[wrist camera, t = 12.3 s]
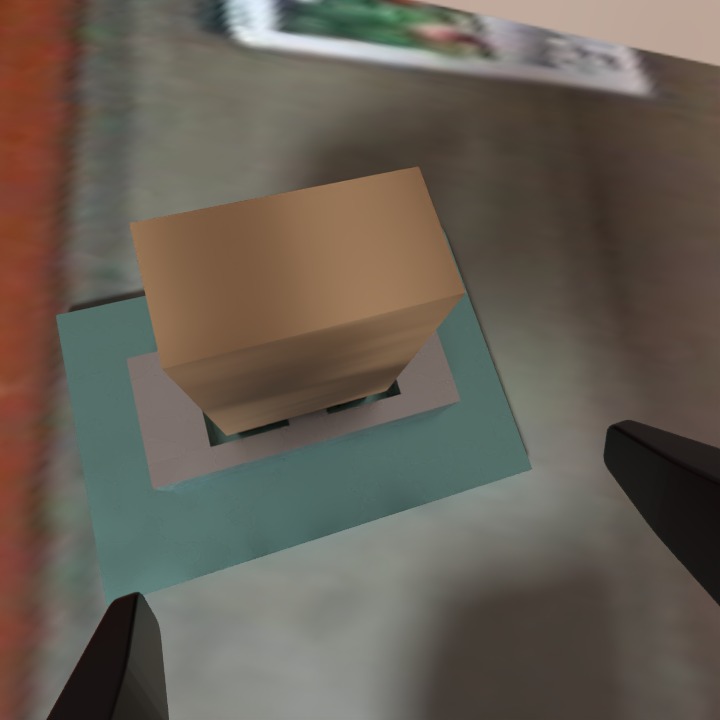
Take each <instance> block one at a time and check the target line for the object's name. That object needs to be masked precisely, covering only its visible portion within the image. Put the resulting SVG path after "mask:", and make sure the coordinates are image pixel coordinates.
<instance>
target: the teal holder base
mask: <svg viewBox="0 0 720 720" xmlns="http://www.w3.org/2000/svg"><path fill="white" fill-rule="evenodd" d="M443 233H444V236H445V238H446V241H447V244H448V246H449V249H450V252H451V254H452V257H453V260H454V262H455V265H456V268H457V271H458V273H459V276H460V279H461V281H462V284H463V287H464V289H465V292H466V293H465V294H464V296H463V297H462V298H461V299H460V300H459V302H458V303H457V304H456V305H455V307H454V308H453V309H452V310H451V312H450V313H449V314H448V315H447V317H446V318H445V319H444V320H443V322H442V323H441V324H440V325H439V326H438V328H437V329H436V330H435V331H434V333H433V334H432V335H431V336H430V338H429V339H428V340H427V341H426V343H425V344H424V345H423V346H422V347H421V349H420V350H419V351H418V352H417V354H416V355H415V356H414V357H413V359H412V360H411V361H410V362H409V364H408V365H407V366H406V367H405V369H404V370H403V371H402V372H401V373H400V375H399V376H398V377H397V378H396V380H395V381H394V382H393V383H392V385H391V386H390V387H389V388H388V390H387V391H384V392H381V393H377V394H374V395H370V396H367V397H366V398H363V399H360V400H356V401H353V402H349V403H346V404H342V405H340V404H338V405H334V406H331V407H327V408H324V409H320V410H317V411H313V412H310V413H306V414H302V415H299V416H295V417H292V418H288V419H285V420H281V421H277V422H274V423H270V424H267V425H266V426H264V427H260V428H257V429H253V430H250V431H246V432H242V433H239V434H237V433H235V434H231V435H228V436H226V435H225V434H224V432H223V431H222V430H221V429H220V428H219V427H218V426H217V425H216V424H215V423H214V422H213V421H212V420H211V419H210V418H209V417H208V416H207V415H206V414H205V413H204V412H203V411H202V410H201V409H200V408H199V407H198V406H197V405H196V404H195V403H194V401H193V400H192V399H191V398H190V397H189V396H188V395H187V394H186V393H185V392H184V391H183V390H182V389H181V388H180V387H179V386H178V385H177V384H176V383H175V382H174V381H173V380H172V379H171V378H170V377H169V376H168V375H167V374H166V373H165V372H164V370H163V369H162V367H161V362H160V358H159V353H158V349H157V344H156V340H155V335H154V331H153V326H152V322H151V317H150V313H149V308H148V304H147V300H146V296H142V297H137V298H133V299H128V300H124V301H119V302H114V303H110V304H105V305H101V306H96V307H92V308H87V309H83V310H78V311H73V312H69V313H64V314H60V315H56V318H57V324H58V329H59V335H60V341H61V347H62V352H63V358H64V364H65V370H66V375H67V381H68V387H69V393H70V398H71V404H72V410H73V415H74V421H75V427H76V433H77V438H78V444H79V450H80V456H81V461H82V467H83V473H84V479H85V484H86V490H87V496H88V501H89V507H90V513H91V519H92V524H93V530H94V536H95V542H96V547H97V553H98V559H99V565H100V570H101V576H102V582H103V587H104V593H105V599H106V605H107V606H110V604H111V603H112V602H113V601H114V600H115V599H117V598H119V597H122V596H125V595H128V594H130V593H133V592H140V593H141V594H142V595H144V594H147V593H150V592H154V591H157V590H160V589H163V588H166V587H169V586H172V585H175V584H178V583H181V582H184V581H188V580H191V579H194V578H197V577H200V576H203V575H206V574H209V573H212V572H215V571H218V570H222V569H225V568H228V567H231V566H234V565H237V564H240V563H243V562H246V561H249V560H253V559H256V558H259V557H262V556H265V555H268V554H271V553H274V552H277V551H280V550H283V549H287V548H290V547H293V546H296V545H299V544H302V543H305V542H308V541H311V540H314V539H317V538H321V537H324V536H327V535H330V534H333V533H336V532H339V531H342V530H345V529H348V528H352V527H355V526H358V525H361V524H364V523H367V522H370V521H373V520H376V519H379V518H382V517H386V516H389V515H392V514H395V513H398V512H401V511H404V510H407V509H410V508H413V507H416V506H420V505H423V504H426V503H429V502H432V501H435V500H438V499H441V498H444V497H447V496H451V495H454V494H457V493H460V492H463V491H466V490H469V489H472V488H475V487H478V486H481V485H485V484H488V483H491V482H494V481H497V480H500V479H503V478H506V477H509V476H512V475H515V474H519V473H522V472H525V471H528V470H531V469H532V467H531V465H530V462H529V459H528V457H527V454H526V451H525V448H524V446H523V443H522V440H521V438H520V435H519V432H518V429H517V427H516V424H515V421H514V419H513V416H512V413H511V410H510V408H509V405H508V402H507V400H506V397H505V394H504V391H503V389H502V386H501V383H500V380H499V378H498V375H497V372H496V370H495V367H494V364H493V361H492V359H491V356H490V353H489V351H488V348H487V345H486V342H485V340H484V337H483V334H482V332H481V329H480V326H479V323H478V321H477V318H476V315H475V313H474V310H473V307H472V304H471V302H470V299H469V296H468V294H467V291H466V288H465V285H464V283H463V280H462V277H461V274H460V272H459V269H458V266H457V264H456V261H455V258H454V255H453V253H452V250H451V247H450V245H449V242H448V239H447V236H446V234H445V231H444V230H443Z"/></svg>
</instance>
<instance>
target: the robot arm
mask: <svg viewBox="0 0 720 720" xmlns="http://www.w3.org/2000/svg"><path fill="white" fill-rule="evenodd" d="M604 462H605V465H606V467H607V468H608V470H609V471H610V473H611V474H612V475H613V477H614V478H615V480H616V481H617V482H618V484H619V485H620V486H621V488H622V489H623V491H624V492H625V493H626V495H627V496H628V497H629V499H630V500H631V502H632V503H633V504H634V506H635V507H636V508H637V510H638V511H639V512H640V514H641V515H642V517H643V518H644V519H645V521H646V522H647V523H648V525H649V526H650V527H651V528H652V530H653V531H654V532H655V533H656V535H657V536H658V537H659V538H660V539H661V541H662V542H663V543H664V544H665V545H666V546H667V547H668V549H669V550H670V551H671V552H672V553H673V554H674V555H675V556H676V558H677V559H678V560H679V561H680V562H681V563H682V564H683V565H684V567H685V568H686V569H687V570H688V571H689V572H690V573H691V574H692V576H693V577H694V578H695V579H696V580H697V581H698V582H699V583H700V585H701V586H702V587H703V588H704V589H705V590H706V591H707V592H708V594H709V595H710V596H711V597H712V598H713V599H714V600H715V601H716V603H717V604H718V605H719V606H720V449H719V448H716V447H713V446H710V445H707V444H704V443H701V442H698V441H694V440H691V439H688V438H685V437H682V436H679V435H676V434H673V433H670V432H667V431H663V430H660V429H657V428H654V427H651V426H648V425H645V424H642V423H639V422H635V421H632V420H624V421H621V422H618V423H616V424H613V425H611V426H609V428H608V429H607V433H606V441H605V448H604ZM46 720H169V715H168V704H167V694H166V684H165V674H164V663H163V653H162V643H161V634H160V628H159V624H158V621H157V619H156V617H155V615H154V614H153V612H152V610H151V608H150V607H149V605H148V603H147V601H146V600H145V598H144V596H143V595H142V594H141V593H140V592H133V593H130V594H128V595H125V596H122V597H119V598H117V599H115V600H114V601H113V602H112V603H111V604H110V606H109V607H108V609H107V611H106V613H105V615H104V616H103V618H102V620H101V622H100V624H99V625H98V627H97V629H96V631H95V633H94V634H93V636H92V638H91V640H90V642H89V644H88V645H87V647H86V649H85V651H84V653H83V654H82V656H81V658H80V660H79V662H78V663H77V665H76V667H75V669H74V671H73V672H72V674H71V676H70V678H69V680H68V681H67V683H66V685H65V687H64V689H63V690H62V692H61V694H60V696H59V698H58V700H57V701H56V703H55V705H54V707H53V709H52V710H51V712H50V714H49V716H48V718H47V719H46Z"/></svg>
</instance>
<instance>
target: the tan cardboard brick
mask: <svg viewBox="0 0 720 720" xmlns="http://www.w3.org/2000/svg"><path fill="white" fill-rule="evenodd" d="M130 228H131V232H132V237H133V241H134V246H135V250H136V255H137V259H138V264H139V268H140V273H141V277H142V282H143V286H144V291H145V295H146V300H147V304H148V308H149V313H150V317H151V322H152V326H153V331H154V335H155V340H156V344H157V349H158V353H159V358H160V362H161V367H162V369H163V370H164V372H165V373H166V374H167V375H168V376H169V377H170V378H171V379H172V380H173V381H174V382H175V383H176V384H177V385H178V386H179V387H180V388H181V389H182V390H183V391H184V392H185V393H186V394H187V395H188V396H189V397H190V398H191V399H192V400H193V401H194V403H195V404H196V405H197V406H198V407H199V408H200V409H201V410H202V411H203V412H204V413H205V414H206V415H207V416H208V417H209V418H210V419H211V420H212V421H213V422H214V423H215V424H216V425H217V426H218V427H219V428H220V429H221V430H222V431H223V432H224V434H225V435H226V436H228V435H231V434H235V433H237V434H239V433H242V432H246V431H250V430H253V429H257V428H260V427H264V426H266V425H267V424H270V423H274V422H277V421H281V420H285V419H288V418H292V417H295V416H299V415H302V414H306V413H310V412H313V411H317V410H320V409H324V408H327V407H331V406H334V405H338V404H340V405H342V404H346V403H349V402H353V401H356V400H360V399H363V398H366V397H367V396H370V395H374V394H377V393H381V392H384V391H387V390H388V388H389V387H390V386H391V385H392V383H393V382H394V381H395V380H396V378H397V377H398V376H399V375H400V373H401V372H402V371H403V370H404V369H405V367H406V366H407V365H408V364H409V362H410V361H411V360H412V359H413V357H414V356H415V355H416V354H417V352H418V351H419V350H420V349H421V347H422V346H423V345H424V344H425V343H426V341H427V340H428V339H429V338H430V336H431V335H432V334H433V333H434V331H435V330H436V329H437V328H438V326H439V325H440V324H441V323H442V322H443V320H444V319H445V318H446V317H447V315H448V314H449V313H450V312H451V310H452V309H453V308H454V307H455V305H456V304H457V303H458V302H459V300H460V299H461V298H462V297H463V296H464V294H465V293H466V292H465V289H464V287H463V284H462V281H461V279H460V276H459V273H458V271H457V268H456V265H455V262H454V260H453V257H452V254H451V252H450V249H449V246H448V244H447V241H446V238H445V236H444V233H443V230H442V228H441V225H440V222H439V220H438V217H437V214H436V211H435V209H434V206H433V203H432V201H431V198H430V195H429V193H428V190H427V187H426V185H425V182H424V179H423V177H422V174H421V171H420V169H419V166H417V167H412V168H407V169H402V170H397V171H392V172H387V173H382V174H377V175H372V176H367V177H362V178H357V179H352V180H347V181H341V182H336V183H331V184H326V185H321V186H316V187H311V188H306V189H301V190H296V191H291V192H286V193H281V194H276V195H271V196H265V197H260V198H255V199H250V200H245V201H240V202H235V203H230V204H225V205H220V206H215V207H210V208H205V209H200V210H195V211H190V212H184V213H179V214H174V215H169V216H164V217H159V218H154V219H149V220H144V221H139V222H134V223H130Z"/></svg>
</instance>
